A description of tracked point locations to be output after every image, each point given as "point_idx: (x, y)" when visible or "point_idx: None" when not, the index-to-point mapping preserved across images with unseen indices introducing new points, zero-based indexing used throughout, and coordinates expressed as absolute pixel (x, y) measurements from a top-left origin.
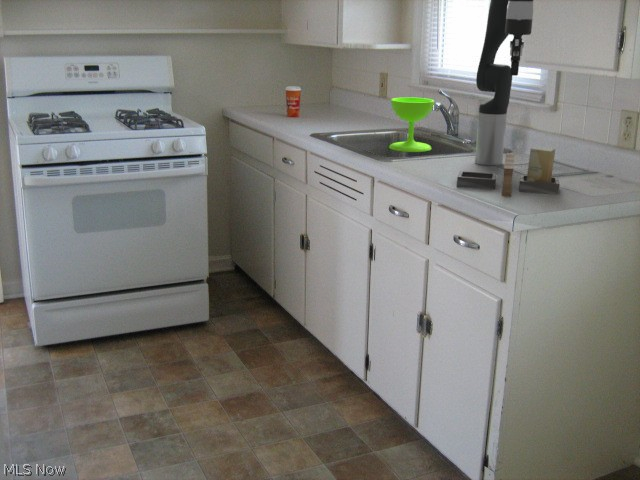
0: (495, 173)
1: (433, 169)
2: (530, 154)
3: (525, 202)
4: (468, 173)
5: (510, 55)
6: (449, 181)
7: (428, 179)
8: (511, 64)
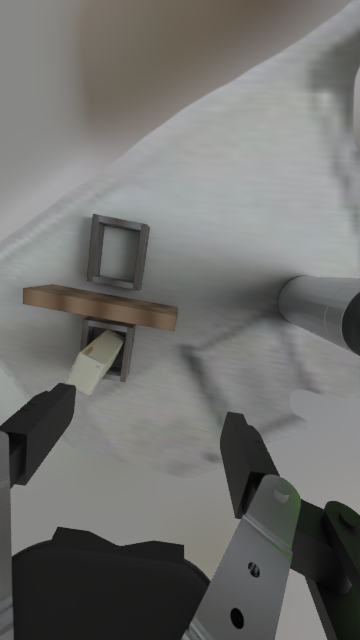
0: (136, 288)
1: (239, 185)
2: (84, 348)
3: (24, 313)
4: (139, 240)
5: (2, 478)
6: (139, 208)
7: (149, 168)
8: (19, 422)
